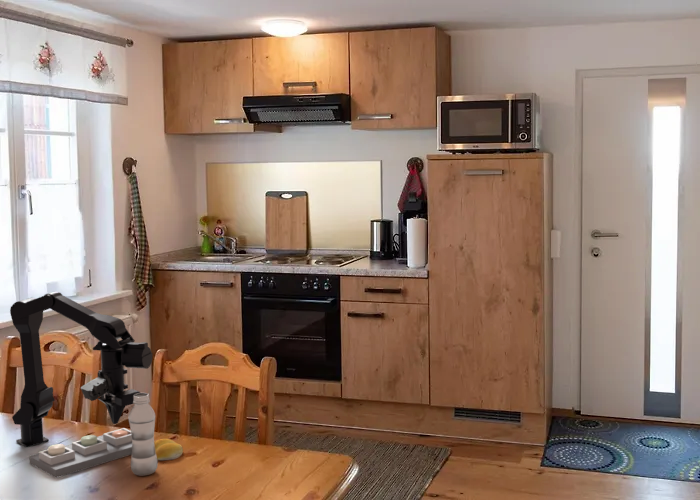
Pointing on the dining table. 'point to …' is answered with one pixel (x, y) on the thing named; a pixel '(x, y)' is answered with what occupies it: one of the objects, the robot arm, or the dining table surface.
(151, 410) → the plastic bottle
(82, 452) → the panel
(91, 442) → the sage button
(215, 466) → the dining table surface
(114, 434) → the terracotta button
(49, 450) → the cream button
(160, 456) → the bread roll
